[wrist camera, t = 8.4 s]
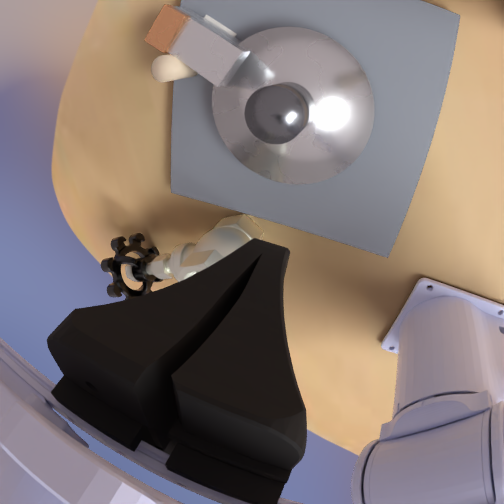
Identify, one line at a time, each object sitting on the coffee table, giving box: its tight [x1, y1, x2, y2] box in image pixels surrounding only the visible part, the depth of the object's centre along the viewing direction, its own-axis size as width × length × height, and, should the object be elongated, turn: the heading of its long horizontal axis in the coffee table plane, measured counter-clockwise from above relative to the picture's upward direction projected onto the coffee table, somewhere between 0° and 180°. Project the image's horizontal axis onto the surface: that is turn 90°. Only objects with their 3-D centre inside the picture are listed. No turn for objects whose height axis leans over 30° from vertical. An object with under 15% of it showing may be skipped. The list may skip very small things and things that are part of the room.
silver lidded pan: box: [144, 4, 374, 185], centre depth 15 cm, size 14×9×4 cm, turn 56°
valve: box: [101, 214, 264, 300], centre depth 24 cm, size 7×7×12 cm
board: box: [151, 0, 460, 258], centre depth 16 cm, size 16×16×4 cm
